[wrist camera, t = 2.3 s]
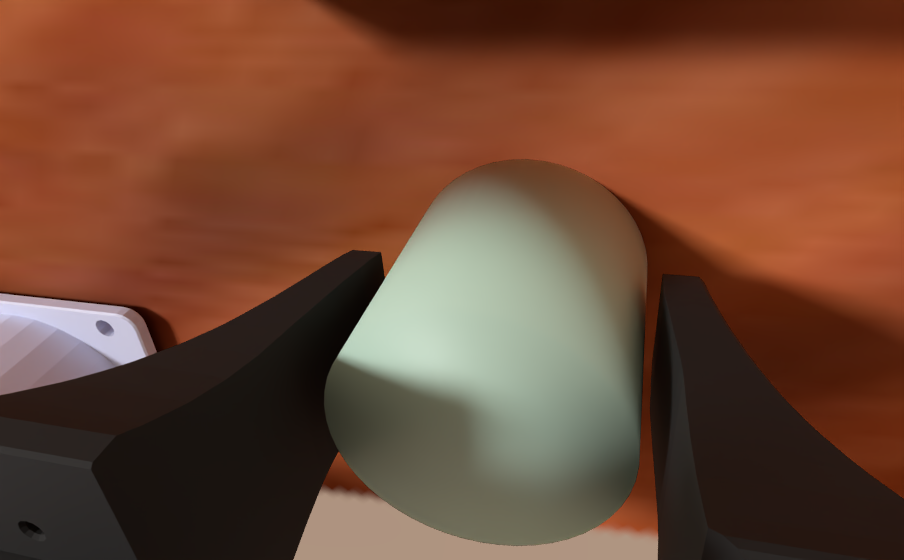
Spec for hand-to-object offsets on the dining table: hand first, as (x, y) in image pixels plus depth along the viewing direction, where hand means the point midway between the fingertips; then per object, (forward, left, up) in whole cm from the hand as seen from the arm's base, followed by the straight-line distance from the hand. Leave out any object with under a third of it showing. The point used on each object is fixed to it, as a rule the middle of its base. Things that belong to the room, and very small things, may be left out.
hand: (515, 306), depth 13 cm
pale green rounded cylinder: (0, 0, -2) cm, 2 cm away
